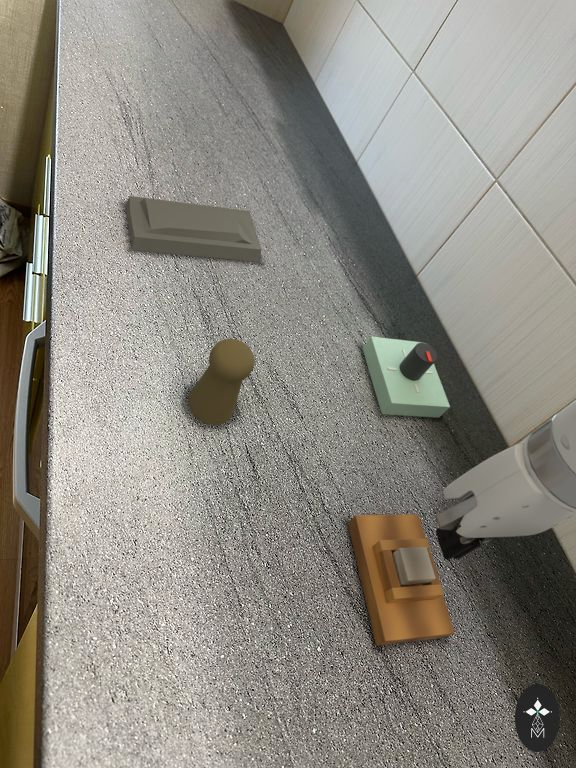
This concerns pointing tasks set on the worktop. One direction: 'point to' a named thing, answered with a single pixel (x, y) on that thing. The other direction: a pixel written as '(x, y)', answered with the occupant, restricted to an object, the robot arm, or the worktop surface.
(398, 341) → the volume panel
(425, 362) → the volume knob
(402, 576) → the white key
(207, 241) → the grey bevelled block
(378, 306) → the worktop surface
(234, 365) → the brown pawn
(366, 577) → the light switch
